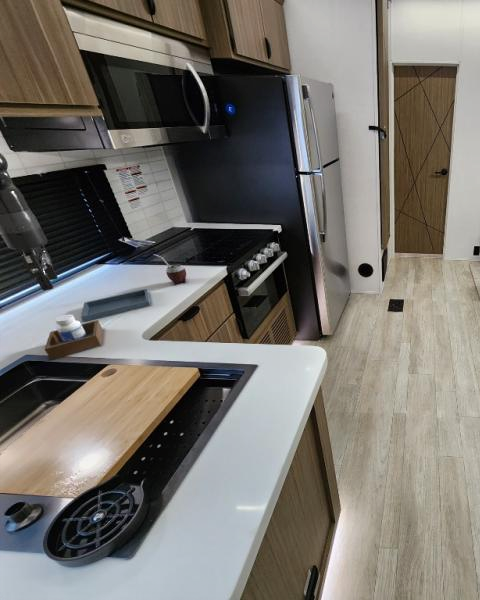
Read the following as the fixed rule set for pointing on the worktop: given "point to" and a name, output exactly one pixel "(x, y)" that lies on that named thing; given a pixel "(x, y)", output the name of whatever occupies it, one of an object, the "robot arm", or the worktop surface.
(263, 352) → the worktop surface
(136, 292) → the tray
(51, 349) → the basket
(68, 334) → the pill bottle
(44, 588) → the worktop surface
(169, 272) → the mate gourd
